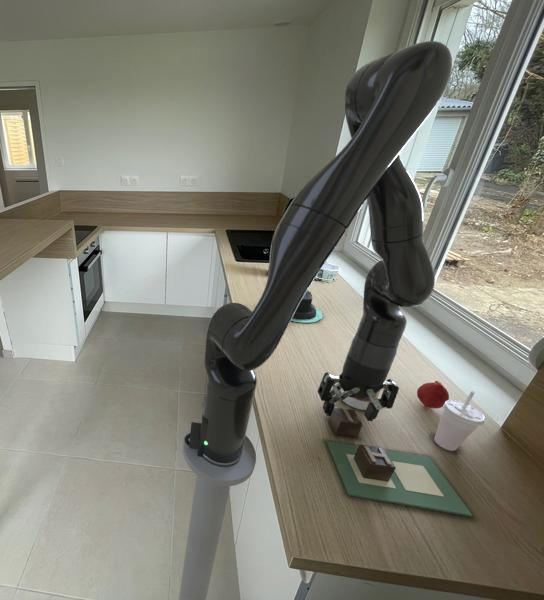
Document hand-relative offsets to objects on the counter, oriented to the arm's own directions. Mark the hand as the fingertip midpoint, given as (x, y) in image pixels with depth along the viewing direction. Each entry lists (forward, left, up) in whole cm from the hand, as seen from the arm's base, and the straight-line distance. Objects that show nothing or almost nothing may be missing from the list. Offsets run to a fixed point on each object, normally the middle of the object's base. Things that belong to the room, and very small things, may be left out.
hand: (347, 415), depth 72 cm
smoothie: (+21, 0, -4) cm, 21 cm away
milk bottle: (+7, +11, -4) cm, 13 cm away
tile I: (0, 0, -4) cm, 4 cm away
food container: (+28, +105, -4) cm, 108 cm away
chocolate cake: (+4, +62, -4) cm, 62 cm away
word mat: (+5, -11, -4) cm, 13 cm away
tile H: (+1, -11, -3) cm, 12 cm away
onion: (+24, +12, -4) cm, 27 cm away
